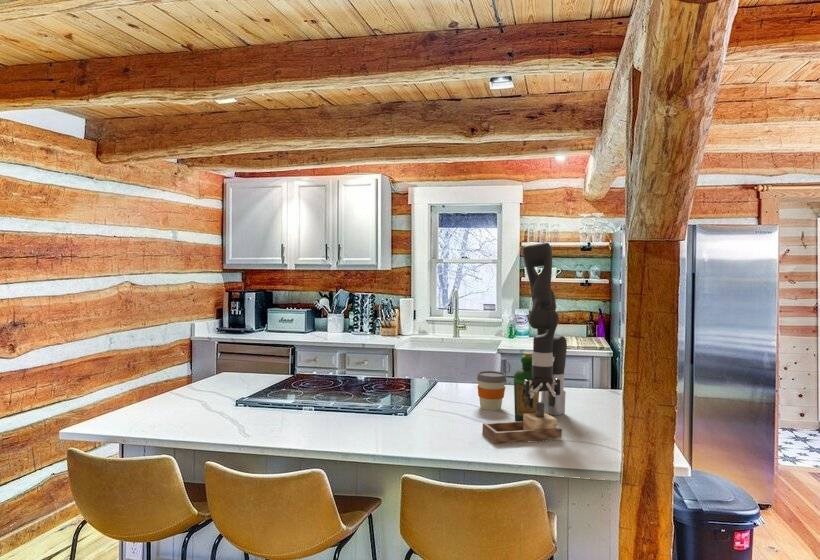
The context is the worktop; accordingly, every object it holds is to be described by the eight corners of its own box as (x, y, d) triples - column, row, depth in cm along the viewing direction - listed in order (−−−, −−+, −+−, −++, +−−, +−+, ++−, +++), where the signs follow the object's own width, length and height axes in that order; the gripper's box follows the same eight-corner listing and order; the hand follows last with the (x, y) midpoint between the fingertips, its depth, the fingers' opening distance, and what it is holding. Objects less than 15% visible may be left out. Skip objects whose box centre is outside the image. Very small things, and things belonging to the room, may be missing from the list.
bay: (545, 430, 229) (545, 419, 229) (561, 439, 217) (562, 429, 217) (482, 433, 222) (482, 423, 222) (495, 444, 210) (495, 433, 210)
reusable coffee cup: (492, 413, 252) (493, 377, 251) (470, 406, 261) (471, 373, 260) (511, 408, 260) (512, 374, 259) (489, 402, 269) (490, 369, 269)
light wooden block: (544, 428, 227) (545, 399, 227) (556, 435, 218) (557, 405, 218) (522, 429, 225) (523, 400, 224) (533, 436, 216) (534, 406, 216)
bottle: (523, 427, 232) (525, 356, 230) (506, 420, 241) (508, 351, 240) (544, 424, 236) (547, 354, 235) (527, 417, 246) (530, 350, 245)
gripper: (554, 361, 226) (553, 403, 227) (520, 362, 222) (519, 405, 223) (564, 365, 219) (563, 408, 219) (529, 366, 215) (528, 410, 216)
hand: (541, 407), depth 221 cm, fingers open, 8 cm apart
